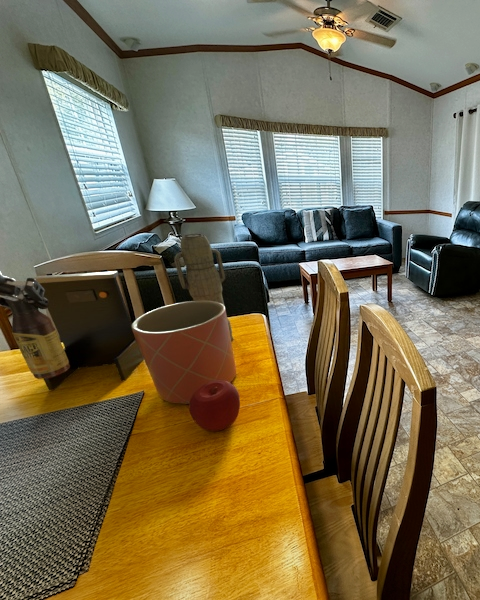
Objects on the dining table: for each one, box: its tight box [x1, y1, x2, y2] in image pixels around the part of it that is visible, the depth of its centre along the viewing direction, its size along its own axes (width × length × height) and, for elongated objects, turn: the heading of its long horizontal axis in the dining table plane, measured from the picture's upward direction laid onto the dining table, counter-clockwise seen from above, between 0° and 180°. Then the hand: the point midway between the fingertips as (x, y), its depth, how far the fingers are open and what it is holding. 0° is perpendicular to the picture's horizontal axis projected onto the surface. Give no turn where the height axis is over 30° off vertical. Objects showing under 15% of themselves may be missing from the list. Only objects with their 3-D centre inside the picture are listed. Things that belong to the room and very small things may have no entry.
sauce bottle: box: [4, 293, 70, 380], centre depth 72 cm, size 6×6×20 cm
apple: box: [188, 380, 241, 432], centre depth 71 cm, size 10×10×10 cm
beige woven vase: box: [173, 233, 234, 343], centre depth 100 cm, size 9×12×35 cm
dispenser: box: [32, 270, 145, 391], centre depth 86 cm, size 12×18×27 cm, turn 104°
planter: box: [132, 300, 237, 405], centre depth 82 cm, size 19×19×20 cm
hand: (32, 306), depth 72 cm, fingers closed on sauce bottle, 4 cm apart
